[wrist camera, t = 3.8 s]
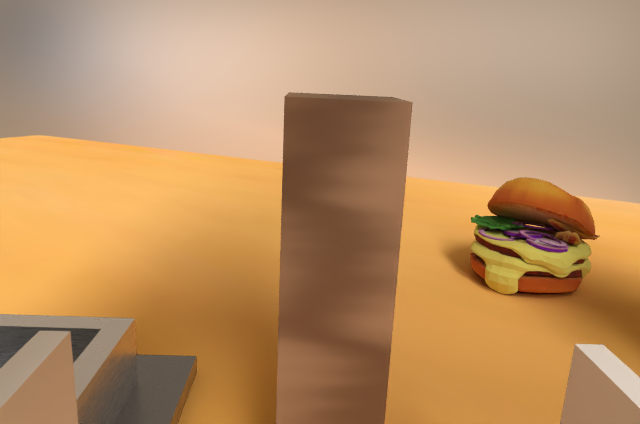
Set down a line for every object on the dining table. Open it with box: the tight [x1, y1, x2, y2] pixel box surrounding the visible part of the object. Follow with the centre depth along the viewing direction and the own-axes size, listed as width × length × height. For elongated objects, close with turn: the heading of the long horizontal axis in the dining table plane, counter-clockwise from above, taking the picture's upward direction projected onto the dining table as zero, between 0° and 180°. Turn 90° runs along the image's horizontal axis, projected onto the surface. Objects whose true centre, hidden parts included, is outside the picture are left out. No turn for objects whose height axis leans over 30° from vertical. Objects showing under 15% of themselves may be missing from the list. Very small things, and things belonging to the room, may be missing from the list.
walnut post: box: [276, 93, 412, 424], centre depth 20 cm, size 4×4×16 cm
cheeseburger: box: [471, 178, 600, 294], centre depth 46 cm, size 10×11×10 cm
